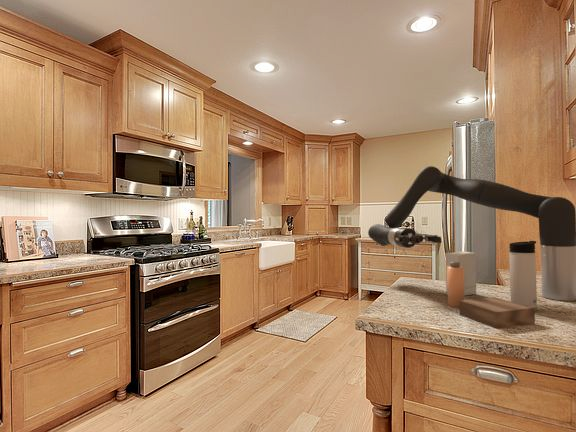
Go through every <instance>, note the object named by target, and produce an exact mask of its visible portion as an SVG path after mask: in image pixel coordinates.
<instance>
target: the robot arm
mask: <svg viewBox="0 0 576 432" xmlns="http://www.w3.org/2000/svg"><path fill="white" fill-rule="evenodd" d="M427 192H430V193H431V192H432V193H437V194H443V195H449V196H453V197H456V198H459V199H462V200H464V201H467V202H471V203H472V204H473V203H474V204H477V205H481V206H484V207H488V208H492V209H497V210H503V211H510V212H517V213H521V214H524V215H528V216H531V217H534V218H536V219H538V231H539V232H538V235H539V244H540V245H539V249H540V252H539V253H540V277H541V278H540V279H541V280H540V281H541V297H543V298H546V299H551V300H557V301H567V302H569V301H570V302H571V301H572V302H573V301H576V207H575V205H574V203H573V202H572V201H571V200H569V199H568V198H565V197H562V196H547V195H546V196H545V195H540V194H534V193H530V192H527V191H523V190H520V189H518V188H515V187H512V186H509V185H506V184H502V183H499V182H495V181H491V180H485V179H478V178H460V177H455V176H453V175H449V174H446V173H444V172H442V171H441V170H440V169H439V168H437V167H436V166H432V165H431V166H426V167H424V168H422V169H421V170H420V171H419V173H418V174H417V176H416V178H415V179H414V180H413V182H412V184H411V185H410V187H409V188H408V189H407V191H406V192H405V194H404V195H403V196H402V198H401V199H399V201H398V202H397V204H396V205H395V206H394V207H393V208H392V209H391V210H390V212H388V214H386V216H385V217H384V221H385V223H386V224H387V226H386V225H384V224H383V225H382V224H379V223H377V224H373V225H372V226H370V227H369V228H368V231H367V234H368V237H369V239H371V240H372V241H374V242H375V243H376V244H379V245H380V246H382V247H386V246H388V245H391V246H395V247H399V248H406V249H410V248H413V247H414V246H415V245H420V244H425V245H426V244H429V243H433V244H435V243H437V244H441V243H442V236H439V235H438V234H427V233H419V232H416V230H414V229H412V228H409V227H400V226H401V225H403V223H404V222H405V221H406V220H407V219H408V217H410V214H411V213H412V212H413V210H414V208H415V207H416V206H417V203H418V202H419V201H420V199H421V198H422V197H423V196H424V195H425V194H426V193H427Z"/></svg>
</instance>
